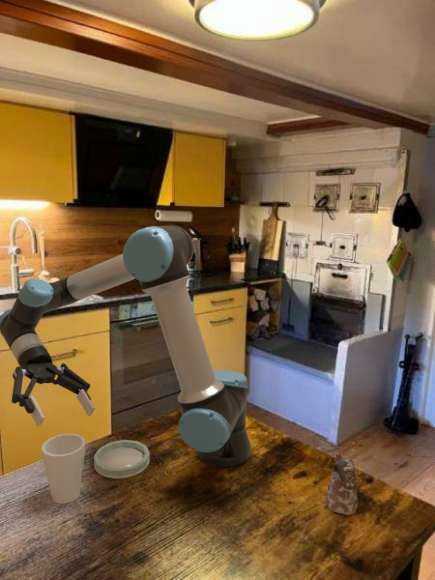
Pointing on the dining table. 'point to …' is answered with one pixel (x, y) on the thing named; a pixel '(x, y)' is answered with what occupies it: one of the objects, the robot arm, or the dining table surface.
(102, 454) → the ceramic saucer
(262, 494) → the dining table surface
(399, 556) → the dining table surface
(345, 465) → the figurine
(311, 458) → the dining table surface
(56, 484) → the foam cup
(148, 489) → the dining table surface
